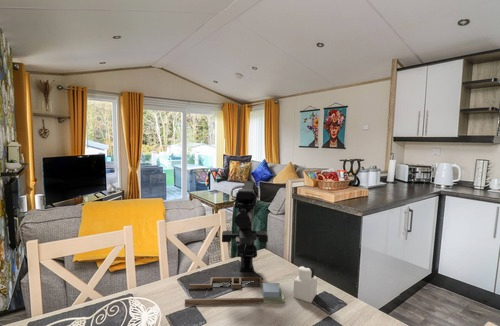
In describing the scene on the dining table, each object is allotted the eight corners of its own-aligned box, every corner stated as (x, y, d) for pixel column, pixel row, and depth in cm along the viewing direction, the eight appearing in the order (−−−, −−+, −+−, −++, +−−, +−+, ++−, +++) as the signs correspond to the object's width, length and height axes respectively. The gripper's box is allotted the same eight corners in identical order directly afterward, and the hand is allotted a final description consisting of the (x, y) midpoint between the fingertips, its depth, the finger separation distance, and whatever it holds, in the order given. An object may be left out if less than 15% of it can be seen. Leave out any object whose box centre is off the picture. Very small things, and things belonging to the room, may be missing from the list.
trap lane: (191, 281, 110) (191, 277, 110) (277, 280, 113) (277, 276, 113) (184, 304, 95) (184, 300, 95) (284, 302, 97) (284, 298, 97)
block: (262, 292, 104) (262, 282, 104) (277, 292, 104) (277, 283, 104) (263, 301, 98) (263, 291, 98) (279, 302, 98) (279, 292, 98)
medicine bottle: (299, 288, 107) (300, 260, 106) (316, 294, 103) (318, 265, 102) (293, 297, 101) (294, 267, 100) (311, 303, 97) (312, 273, 96)
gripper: (221, 226, 98) (220, 265, 100) (270, 226, 100) (268, 265, 101) (222, 217, 109) (222, 253, 111) (266, 217, 111) (265, 252, 112)
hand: (244, 256), depth 108 cm, fingers closed
